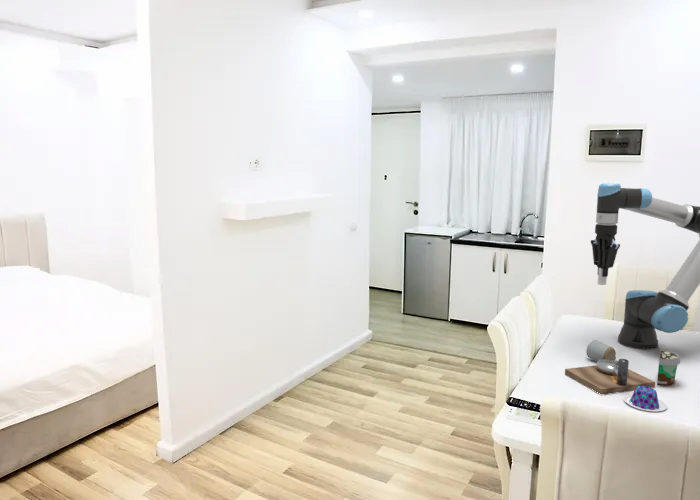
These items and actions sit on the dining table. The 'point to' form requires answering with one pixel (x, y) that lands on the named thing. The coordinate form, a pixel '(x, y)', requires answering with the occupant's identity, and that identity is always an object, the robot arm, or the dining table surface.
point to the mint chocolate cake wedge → (667, 367)
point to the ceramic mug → (600, 351)
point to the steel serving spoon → (615, 369)
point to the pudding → (645, 399)
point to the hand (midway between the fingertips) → (601, 284)
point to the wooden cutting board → (607, 380)
